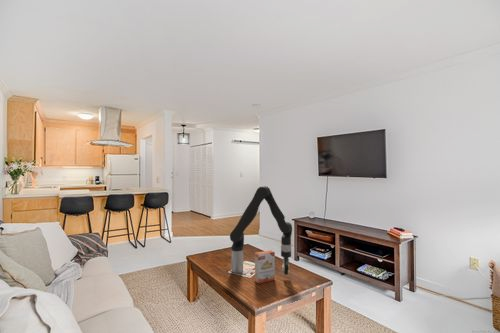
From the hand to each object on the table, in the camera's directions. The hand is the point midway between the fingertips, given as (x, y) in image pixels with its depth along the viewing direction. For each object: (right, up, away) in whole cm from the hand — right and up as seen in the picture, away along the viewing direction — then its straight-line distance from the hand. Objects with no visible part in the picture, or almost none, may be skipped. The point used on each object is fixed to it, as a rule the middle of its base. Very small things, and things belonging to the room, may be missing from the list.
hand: (285, 272), depth 194 cm
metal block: (0, -1, 0) cm, 1 cm away
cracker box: (-16, -5, -2) cm, 17 cm away
